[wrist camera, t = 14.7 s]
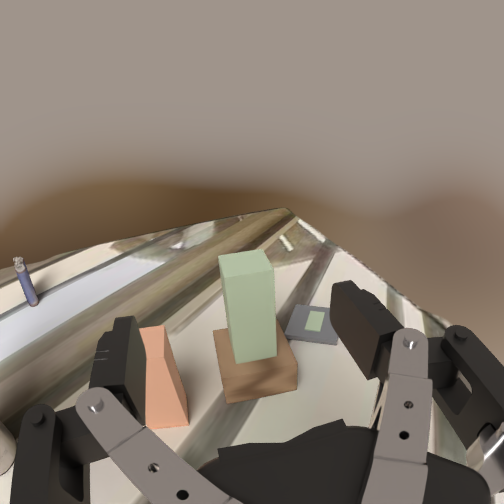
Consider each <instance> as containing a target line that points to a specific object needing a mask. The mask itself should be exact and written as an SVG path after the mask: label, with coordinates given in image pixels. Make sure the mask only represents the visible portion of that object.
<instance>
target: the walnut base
mask: <svg viewBox="0 0 504 504" xmlns="http://www.w3.org/2000/svg"><path fill="white" fill-rule="evenodd" d="M213 336H214V341H215V347H216V352H217V358H218V363H219V368H220V374H221V379H222V384H223V388H224V393H225V398H226V403H227V404H230V403H235V402H241V401H246V400H251V399H256V398H261V397H266V396H271V395H275V394H280V393H284V392H288V391H292V390H297V365H298V363H297V361H296V359H295V357H294V355H293V352H292V350H291V348H290V346H289V344H288V341H287V339H286V337H285V335H284V333H283V331H282V328H281V326H280V324H279V322H278V320H277V319H276V344H277V356H275V357H270V358H265V359H260V360H255V361H250V362H245V363H240V364H236V362H235V358H234V354H233V350H232V346H231V342H230V338H229V332H228V328H226V329H220V330H214V331H213Z"/></svg>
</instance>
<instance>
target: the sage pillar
mask: <svg viewBox="0 0 504 504" xmlns="http://www.w3.org/2000/svg"><path fill="white" fill-rule="evenodd" d="M218 259H219V267H220V274H221V282H222V289H223V296H224V304H225V311H226V318H227V325H228V332H229V338H230V342H231V346H232V350H233V354H234V358H235V362H236V364H240V363H245V362H250V361H255V360H260V359H265V358H270V357H275V356H277V344H276V313H275V286H274V269H273V267H272V265H271V264H270V262H269V260H268V259H267V257H266V255H265V253H264V252H263V250H262V249H259V250H252V251H246V252H239V253H233V254H226V255H220V256H218Z"/></svg>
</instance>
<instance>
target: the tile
mask: <svg viewBox="0 0 504 504" xmlns="http://www.w3.org/2000/svg"><path fill="white" fill-rule="evenodd" d="M329 312H330V308H324V307H316V306H307V305H299V304H296V305H295V308H294V310H293V313H292V316H291V318H290V321H289V323H288V326H287V328H286V331H285V333H284V335H285V337H286V338H287V339H294V340H301V341H308V342H315V343H323V344H331V345H337V340H338V335H337V333H336V332H335V330H334V329H333V327H332V325H331V322H330V316H329Z"/></svg>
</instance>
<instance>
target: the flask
mask: <svg viewBox="0 0 504 504" xmlns="http://www.w3.org/2000/svg"><path fill="white" fill-rule="evenodd" d="M13 261H14V258H13ZM15 271H16V273H17V276H18V279H19V281H20V284H21V286H22V289H23V291H24V294H25V296H26V299H27V301H28V303H29V305H30V306H31V307H34V305H35V306H36V305H38V303H39V300H38V298H37V296H36V294H35V293H36V292H35V290H34V287H33V284H32V282H31V279H30V276H29V273H28V271H27V268H26V265H25V262H24V258H20V257H19V258H18V257H16V258H15Z"/></svg>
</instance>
